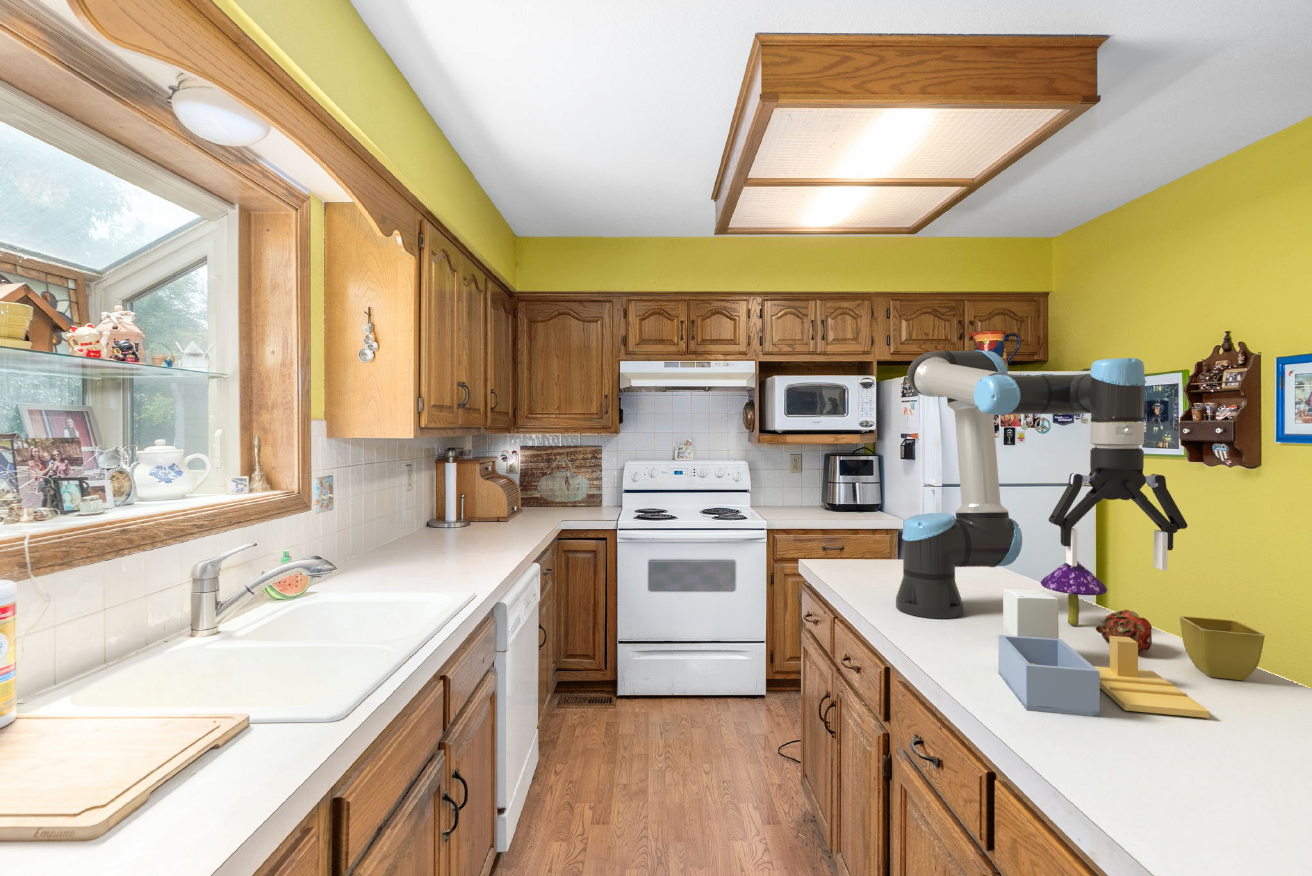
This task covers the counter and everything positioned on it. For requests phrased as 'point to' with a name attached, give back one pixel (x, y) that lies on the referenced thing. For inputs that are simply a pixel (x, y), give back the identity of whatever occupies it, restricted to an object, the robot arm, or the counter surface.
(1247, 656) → the flower pot
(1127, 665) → the lid
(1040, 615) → the supplement box
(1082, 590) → the decorative mushroom
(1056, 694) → the tub
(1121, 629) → the dragon fruit
